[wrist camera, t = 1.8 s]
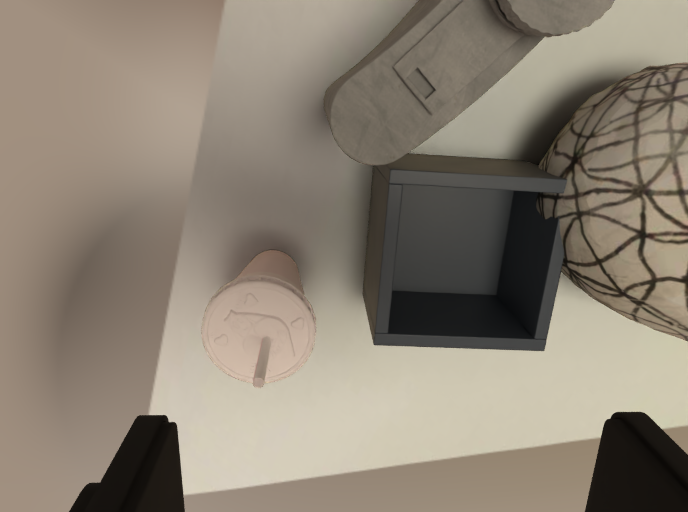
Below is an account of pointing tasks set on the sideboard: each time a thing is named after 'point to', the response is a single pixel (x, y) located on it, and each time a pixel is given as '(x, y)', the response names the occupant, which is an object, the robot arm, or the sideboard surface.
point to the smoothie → (260, 322)
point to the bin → (461, 253)
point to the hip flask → (439, 69)
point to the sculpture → (627, 197)
